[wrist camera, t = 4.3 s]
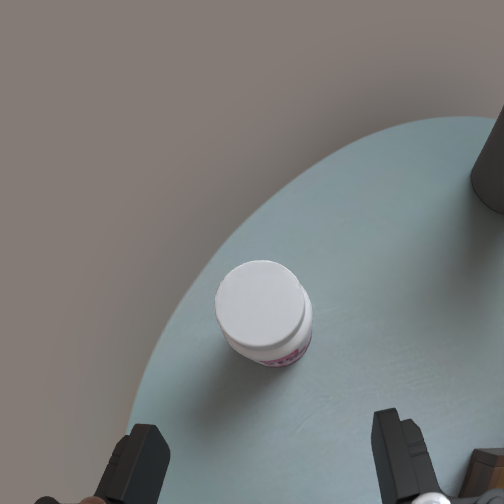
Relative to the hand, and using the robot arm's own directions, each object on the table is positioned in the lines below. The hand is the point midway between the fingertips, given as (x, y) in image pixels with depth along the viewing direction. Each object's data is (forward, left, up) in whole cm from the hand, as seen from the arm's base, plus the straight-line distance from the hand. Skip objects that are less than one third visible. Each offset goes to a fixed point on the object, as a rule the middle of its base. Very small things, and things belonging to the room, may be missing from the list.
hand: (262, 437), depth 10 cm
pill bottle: (+5, +2, -10) cm, 12 cm away
